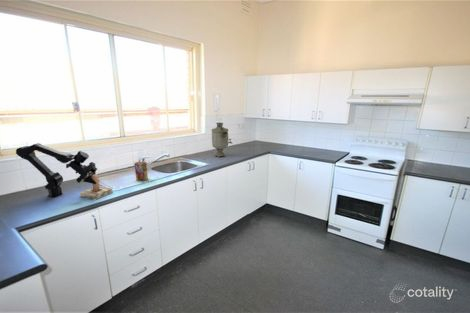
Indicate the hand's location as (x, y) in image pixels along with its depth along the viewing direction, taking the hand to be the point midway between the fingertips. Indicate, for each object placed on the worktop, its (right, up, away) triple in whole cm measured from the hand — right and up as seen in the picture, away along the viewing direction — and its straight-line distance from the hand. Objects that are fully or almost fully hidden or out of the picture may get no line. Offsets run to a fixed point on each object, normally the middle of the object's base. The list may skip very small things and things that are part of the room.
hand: (97, 182), depth 162 cm
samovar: (+81, +18, +117) cm, 143 cm away
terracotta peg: (-2, -6, +2) cm, 7 cm away
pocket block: (-2, -8, +2) cm, 9 cm away
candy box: (+18, -1, +33) cm, 38 cm away
